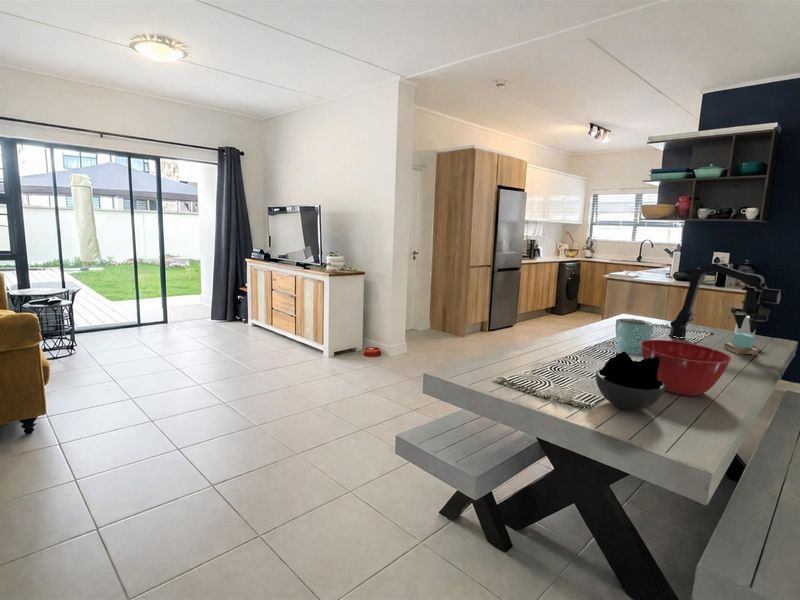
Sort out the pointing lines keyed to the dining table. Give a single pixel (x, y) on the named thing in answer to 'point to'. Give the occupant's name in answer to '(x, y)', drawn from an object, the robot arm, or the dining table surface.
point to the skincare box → (745, 327)
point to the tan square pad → (741, 349)
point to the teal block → (742, 340)
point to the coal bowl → (630, 382)
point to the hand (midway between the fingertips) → (745, 330)
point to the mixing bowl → (686, 365)
